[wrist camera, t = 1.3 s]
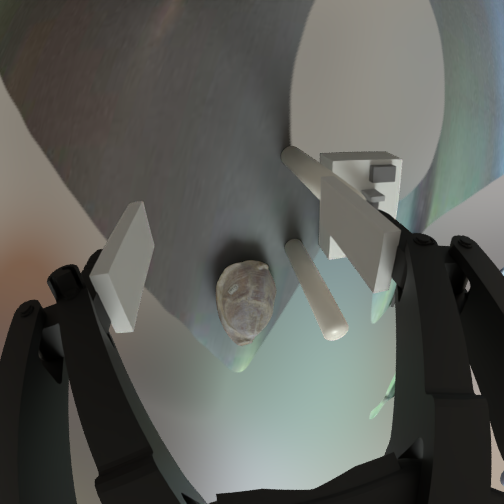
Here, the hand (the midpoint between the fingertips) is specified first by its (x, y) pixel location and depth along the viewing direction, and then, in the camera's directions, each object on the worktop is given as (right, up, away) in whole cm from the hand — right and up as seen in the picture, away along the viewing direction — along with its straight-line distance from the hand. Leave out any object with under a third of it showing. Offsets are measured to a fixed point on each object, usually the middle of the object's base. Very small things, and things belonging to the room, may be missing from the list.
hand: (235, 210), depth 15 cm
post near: (+7, +12, +26) cm, 30 cm away
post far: (+8, -1, +35) cm, 35 cm away
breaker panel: (+18, +7, +31) cm, 37 cm away
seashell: (-1, -9, +38) cm, 39 cm away
